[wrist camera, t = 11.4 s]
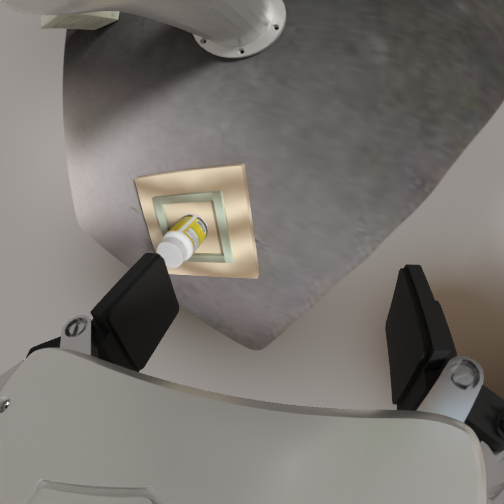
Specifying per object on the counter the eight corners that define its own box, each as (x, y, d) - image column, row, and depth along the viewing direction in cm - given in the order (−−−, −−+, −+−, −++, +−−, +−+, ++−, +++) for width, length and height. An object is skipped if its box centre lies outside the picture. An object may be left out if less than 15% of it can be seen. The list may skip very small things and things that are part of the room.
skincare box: (121, -1, 25) (68, -12, 15) (119, 20, 27) (64, 12, 17) (94, 11, 26) (42, 6, 16) (92, 31, 29) (38, 29, 18)
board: (139, 176, 41) (131, 180, 40) (244, 163, 36) (239, 167, 35) (165, 268, 50) (160, 275, 48) (259, 273, 45) (256, 281, 43)
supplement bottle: (179, 234, 43) (152, 261, 36) (184, 208, 41) (155, 233, 34) (205, 245, 43) (182, 275, 36) (212, 220, 41) (187, 248, 34)
